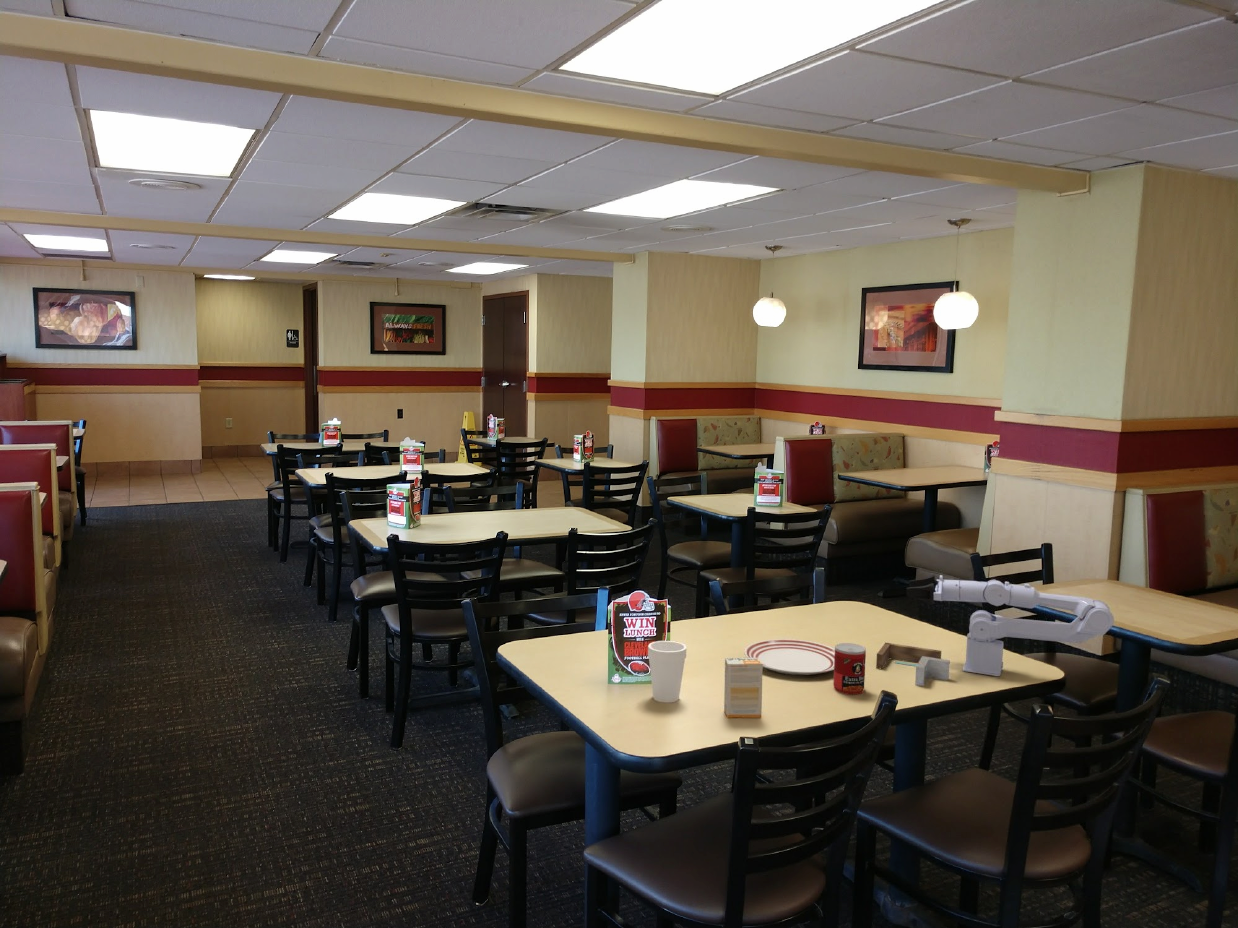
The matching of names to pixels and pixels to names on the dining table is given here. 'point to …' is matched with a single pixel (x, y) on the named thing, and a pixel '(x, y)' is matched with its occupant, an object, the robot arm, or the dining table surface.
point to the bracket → (931, 670)
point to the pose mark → (906, 663)
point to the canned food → (849, 668)
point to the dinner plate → (793, 656)
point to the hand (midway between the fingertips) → (907, 588)
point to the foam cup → (666, 669)
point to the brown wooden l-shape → (903, 653)
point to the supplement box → (743, 688)
